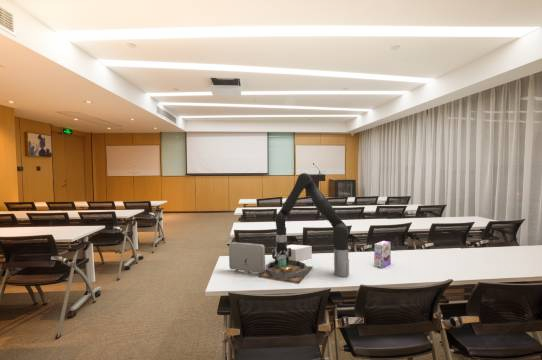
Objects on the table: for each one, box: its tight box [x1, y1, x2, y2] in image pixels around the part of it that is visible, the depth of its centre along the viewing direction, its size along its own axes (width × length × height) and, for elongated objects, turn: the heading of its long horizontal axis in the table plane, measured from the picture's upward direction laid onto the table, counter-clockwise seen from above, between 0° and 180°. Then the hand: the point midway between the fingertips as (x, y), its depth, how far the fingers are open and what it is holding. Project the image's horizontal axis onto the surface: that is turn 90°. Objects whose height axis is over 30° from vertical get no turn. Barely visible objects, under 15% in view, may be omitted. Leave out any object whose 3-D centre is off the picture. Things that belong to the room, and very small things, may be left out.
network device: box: [228, 241, 266, 277], centre depth 186 cm, size 26×9×20 cm, turn 68°
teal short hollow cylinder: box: [278, 259, 286, 268], centre depth 192 cm, size 6×6×5 cm
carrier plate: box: [258, 264, 313, 285], centre depth 184 cm, size 28×28×6 cm
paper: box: [274, 244, 313, 262], centre depth 212 cm, size 14×29×10 cm, turn 96°
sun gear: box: [280, 265, 293, 273], centre depth 184 cm, size 9×9×2 cm
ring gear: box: [265, 260, 308, 279], centre depth 184 cm, size 27×27×3 cm
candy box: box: [373, 240, 392, 269], centre depth 195 cm, size 14×6×16 cm, turn 131°
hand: (281, 263), depth 192 cm, fingers open, 7 cm apart
